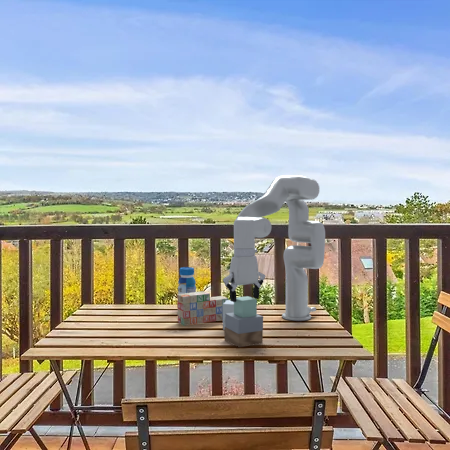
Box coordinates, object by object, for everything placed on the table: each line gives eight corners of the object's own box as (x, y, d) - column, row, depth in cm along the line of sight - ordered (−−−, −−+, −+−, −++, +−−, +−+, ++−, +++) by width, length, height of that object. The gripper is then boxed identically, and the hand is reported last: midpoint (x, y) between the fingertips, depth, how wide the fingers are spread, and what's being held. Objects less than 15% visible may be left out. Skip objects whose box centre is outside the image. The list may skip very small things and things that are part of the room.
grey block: (249, 323, 173) (249, 310, 173) (263, 330, 164) (263, 316, 164) (225, 327, 169) (225, 313, 168) (238, 333, 160) (238, 319, 159)
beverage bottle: (195, 312, 210) (195, 269, 209) (177, 312, 211) (176, 269, 210) (196, 308, 219) (196, 266, 218) (179, 308, 219) (178, 266, 218)
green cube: (247, 312, 170) (247, 296, 170) (256, 315, 165) (256, 299, 165) (233, 314, 168) (233, 297, 167) (242, 317, 162) (242, 300, 162)
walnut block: (247, 336, 174) (247, 323, 173) (262, 343, 165) (262, 330, 165) (224, 340, 169) (224, 327, 168) (238, 348, 160) (238, 334, 160)
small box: (236, 330, 180) (236, 304, 180) (222, 330, 181) (222, 303, 181) (239, 325, 188) (239, 300, 188) (226, 324, 189) (226, 299, 189)
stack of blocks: (221, 316, 204) (221, 289, 203) (228, 319, 198) (228, 291, 198) (177, 322, 194) (177, 293, 193) (183, 326, 188) (183, 296, 188)
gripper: (258, 250, 173) (259, 295, 174) (218, 253, 164) (218, 300, 165) (270, 252, 166) (270, 299, 167) (228, 255, 158) (229, 304, 159)
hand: (244, 299), depth 166 cm, fingers open, 9 cm apart
